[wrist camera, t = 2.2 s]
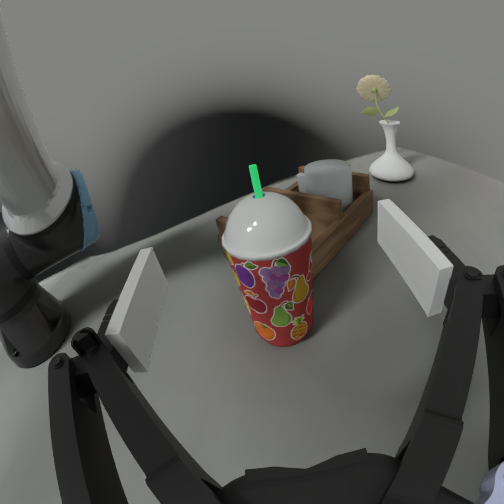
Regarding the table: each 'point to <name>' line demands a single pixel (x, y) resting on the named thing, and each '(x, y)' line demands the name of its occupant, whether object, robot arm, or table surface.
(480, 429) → the table surface
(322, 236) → the rack
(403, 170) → the flower in vase
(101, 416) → the robot arm
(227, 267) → the table surface
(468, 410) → the table surface
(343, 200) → the mug
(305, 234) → the smoothie
